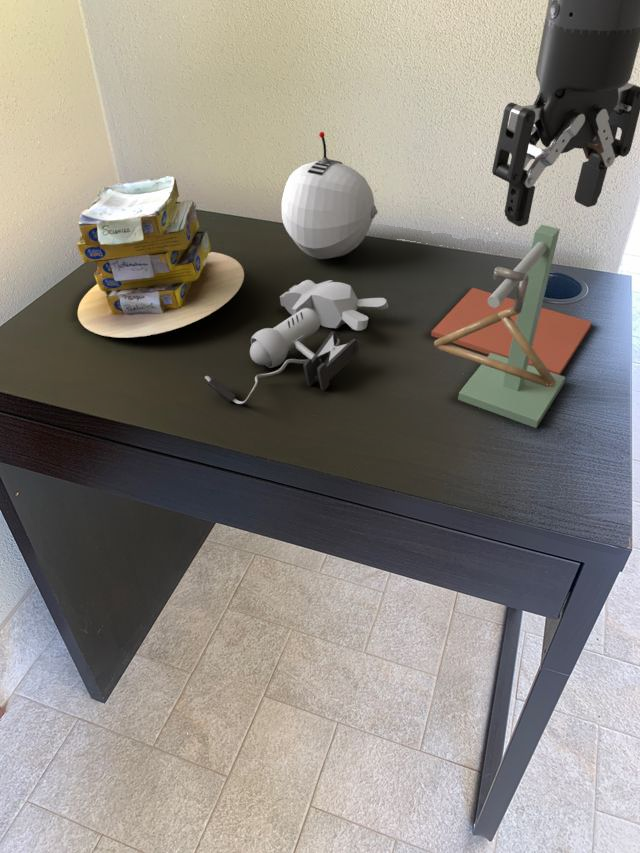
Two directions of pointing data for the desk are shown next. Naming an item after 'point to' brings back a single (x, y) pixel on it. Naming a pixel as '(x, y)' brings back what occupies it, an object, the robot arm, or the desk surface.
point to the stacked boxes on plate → (150, 262)
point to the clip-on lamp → (288, 334)
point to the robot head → (327, 207)
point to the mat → (550, 342)
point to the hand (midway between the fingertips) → (551, 213)
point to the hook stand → (502, 388)
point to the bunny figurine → (331, 303)
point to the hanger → (505, 317)
